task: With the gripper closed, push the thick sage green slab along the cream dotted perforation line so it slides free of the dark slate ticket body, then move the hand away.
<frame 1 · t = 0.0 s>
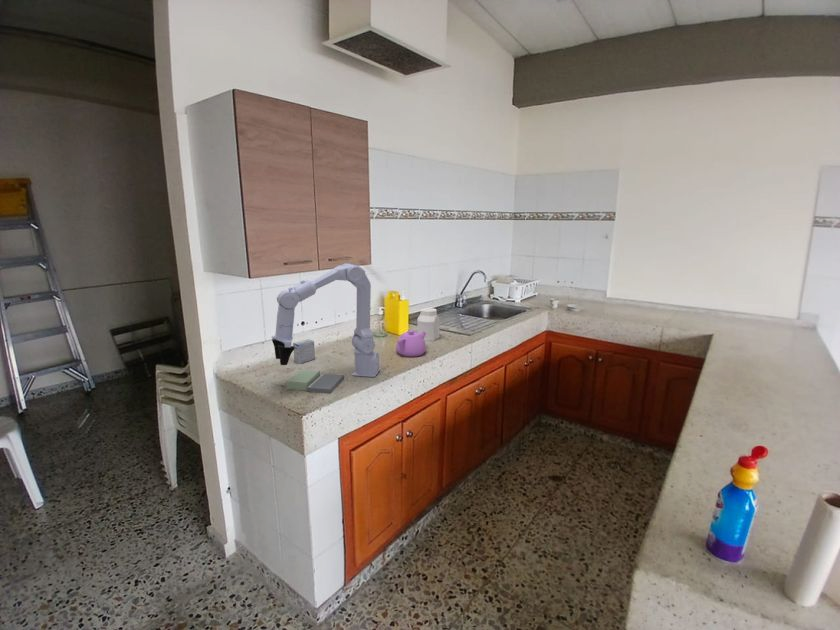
hand: (281, 361, 150), 11 cm above the countertop, tool pointing down, fingers open, 7 cm apart
thick sage green slab: (304, 379, 158), point 1 cm above the countertop, slide at 0.0 cm
jar: (428, 338, 216), on the countertop
ticket body: (326, 384, 157), on the countertop
teapot: (412, 352, 194), on the countertop
medicine box: (304, 361, 183), on the countertop
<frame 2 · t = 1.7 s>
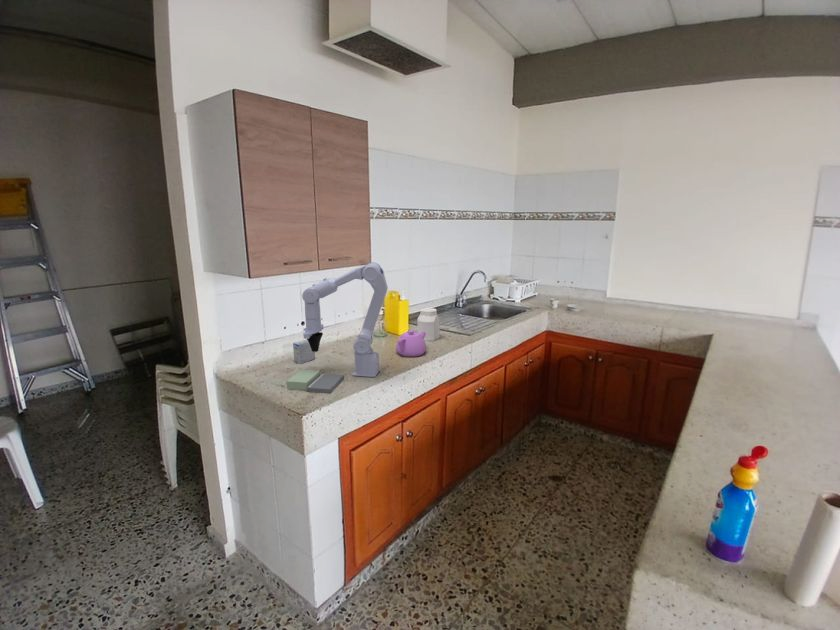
hand: (315, 351, 166), 9 cm above the countertop, tool pointing down, fingers closed
nothing on the countertop moved.
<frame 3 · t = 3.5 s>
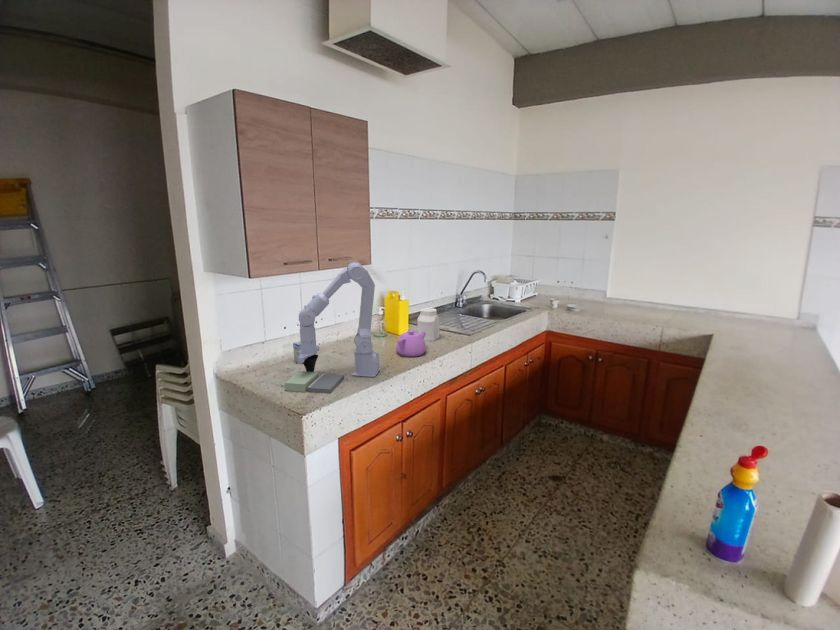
hand: (310, 373, 163), 2 cm above the countertop, tool pointing down, fingers closed
thick sage green slab: (302, 381, 156), point 1 cm above the countertop, slide at 1.5 cm, touching gripper
everything else where it was.
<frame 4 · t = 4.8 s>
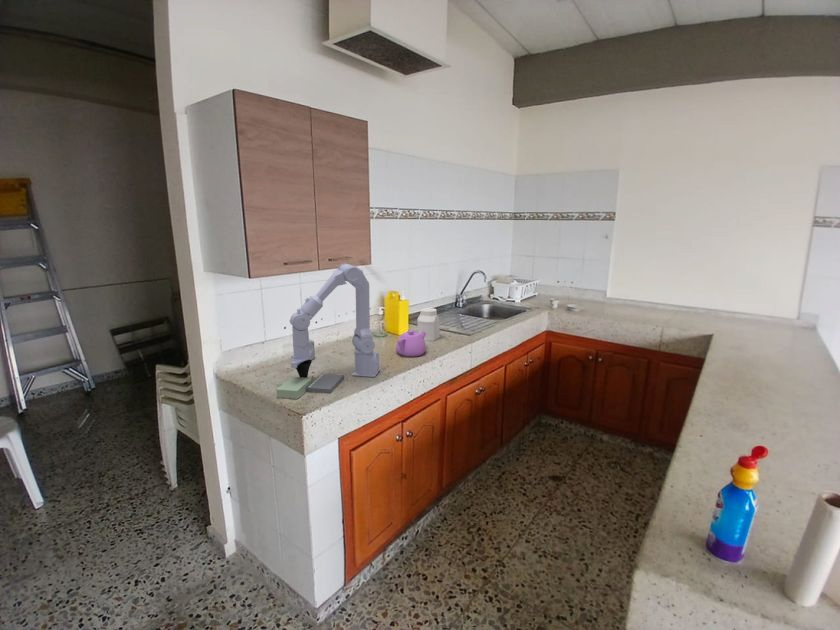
hand: (303, 379, 157), 2 cm above the countertop, tool pointing down, fingers closed
thick sage green slab: (294, 387, 150), point 1 cm above the countertop, slide at 7.5 cm, touching gripper
everything else where it was.
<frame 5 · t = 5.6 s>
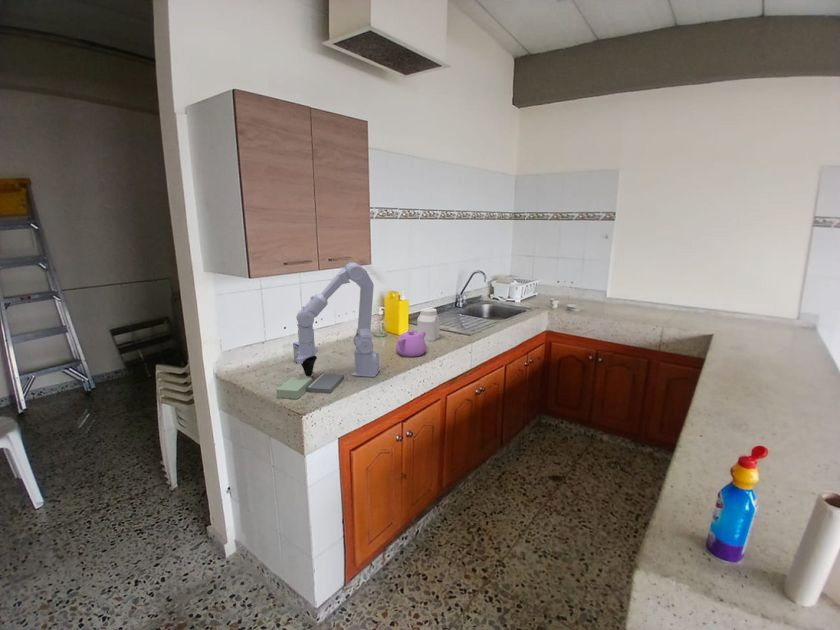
hand: (308, 375, 161), 2 cm above the countertop, tool pointing down, fingers closed
thick sage green slab: (294, 387, 150), point 1 cm above the countertop, slide at 7.5 cm
everything else where it was.
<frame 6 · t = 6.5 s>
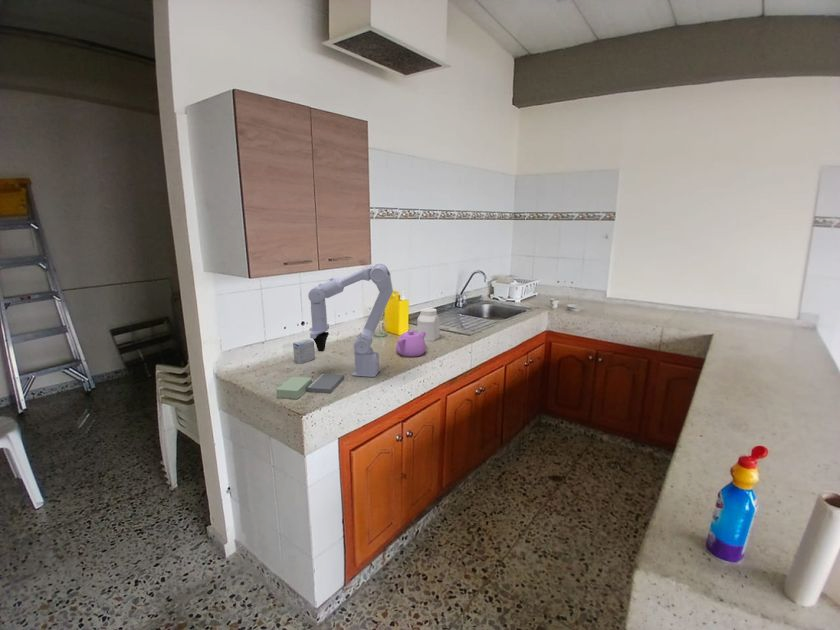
hand: (321, 351, 166), 9 cm above the countertop, tool pointing down, fingers closed
nothing on the countertop moved.
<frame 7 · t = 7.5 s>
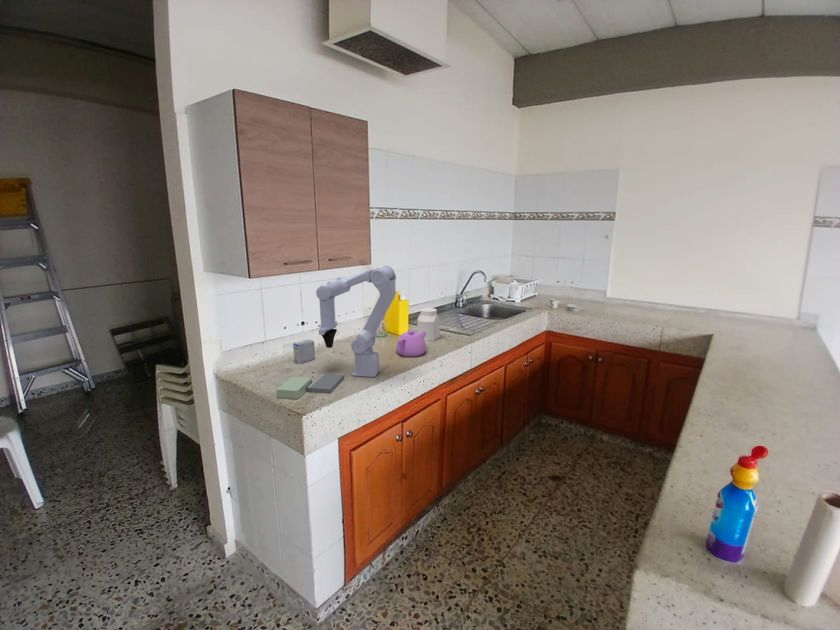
hand: (329, 347, 170), 9 cm above the countertop, tool pointing down, fingers closed
nothing on the countertop moved.
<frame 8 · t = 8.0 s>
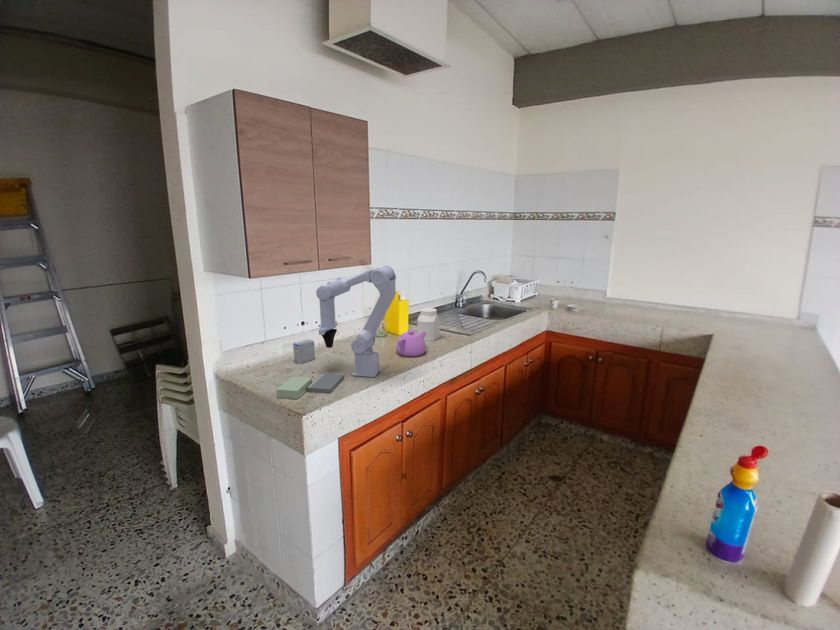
hand: (329, 347, 170), 9 cm above the countertop, tool pointing down, fingers closed
nothing on the countertop moved.
at the end: thick sage green slab slide at 7.5 cm; medicine box moved 0.3 cm from its start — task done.
